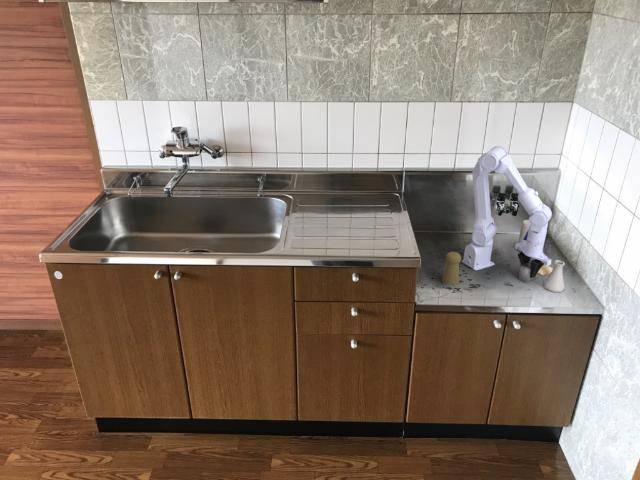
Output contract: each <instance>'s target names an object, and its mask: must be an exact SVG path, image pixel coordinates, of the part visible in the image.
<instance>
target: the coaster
mask: <svg viewBox="0 0 640 480" xmlns="http://www.w3.org/2000/svg"><path fill="white" fill-rule="evenodd" d="M553 268H554V267H551V266H550V265H549V266H545V264H544V265H543V266H542V267H541V268H540V270H539V272H538V273H537V275H540V276H541V277H543V276H546V275H550V273H551V272H552V270H553Z"/></svg>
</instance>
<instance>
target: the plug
mask: <svg viewBox="0 0 640 480" xmlns="http://www.w3.org/2000/svg"><path fill="white" fill-rule="evenodd" d="M530 272H531V263H530V262H529V263H526V264H523V265H521V264H520V269H519V272H518V278H517V279H518V280H519V281H521V282H525V283H526V282H529V281H533V280H535V279H536V278H537V276H536V277H533V278H531V277H530ZM538 272H539V271H538Z"/></svg>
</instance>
